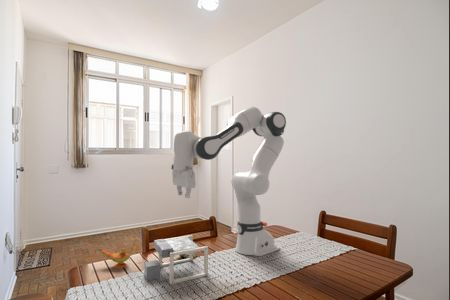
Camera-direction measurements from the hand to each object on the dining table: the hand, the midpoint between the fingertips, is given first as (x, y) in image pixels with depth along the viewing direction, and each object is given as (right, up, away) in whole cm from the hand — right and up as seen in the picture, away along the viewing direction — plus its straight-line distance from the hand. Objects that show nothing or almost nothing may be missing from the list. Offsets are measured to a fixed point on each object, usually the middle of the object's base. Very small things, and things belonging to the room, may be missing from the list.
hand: (183, 196), depth 116 cm
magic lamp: (-27, -28, -8) cm, 40 cm away
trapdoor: (-1, -19, -14) cm, 23 cm away
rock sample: (+1, -29, +3) cm, 29 cm away
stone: (-10, -28, -17) cm, 34 cm away
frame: (+1, -28, -12) cm, 31 cm away
